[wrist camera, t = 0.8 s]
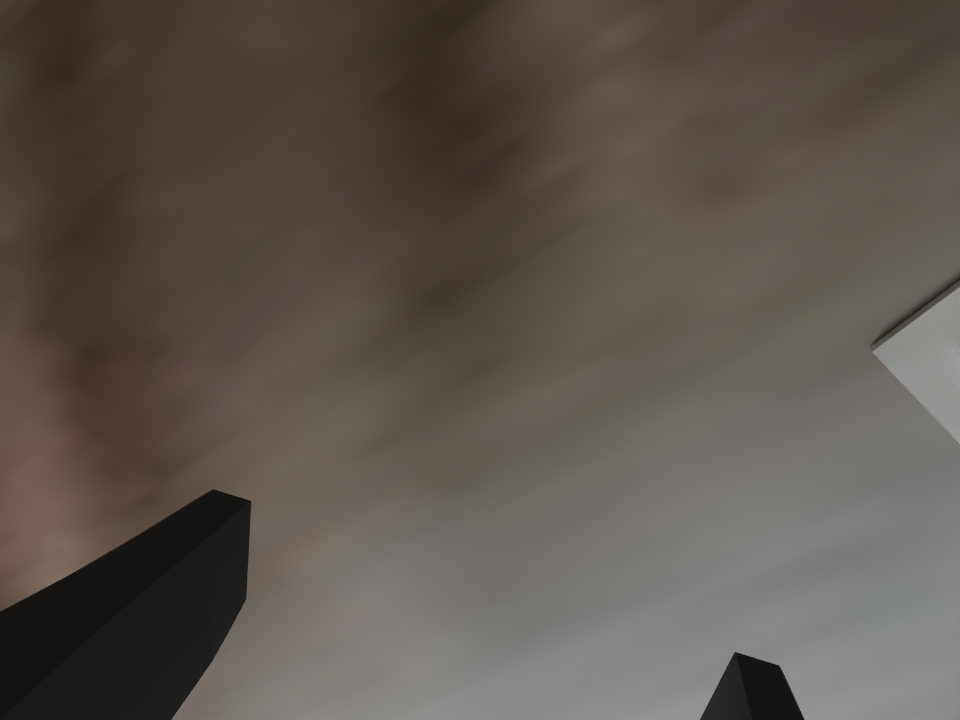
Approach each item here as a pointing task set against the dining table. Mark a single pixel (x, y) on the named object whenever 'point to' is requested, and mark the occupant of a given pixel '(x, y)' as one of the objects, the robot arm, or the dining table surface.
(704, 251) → the dining table surface
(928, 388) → the stand base
